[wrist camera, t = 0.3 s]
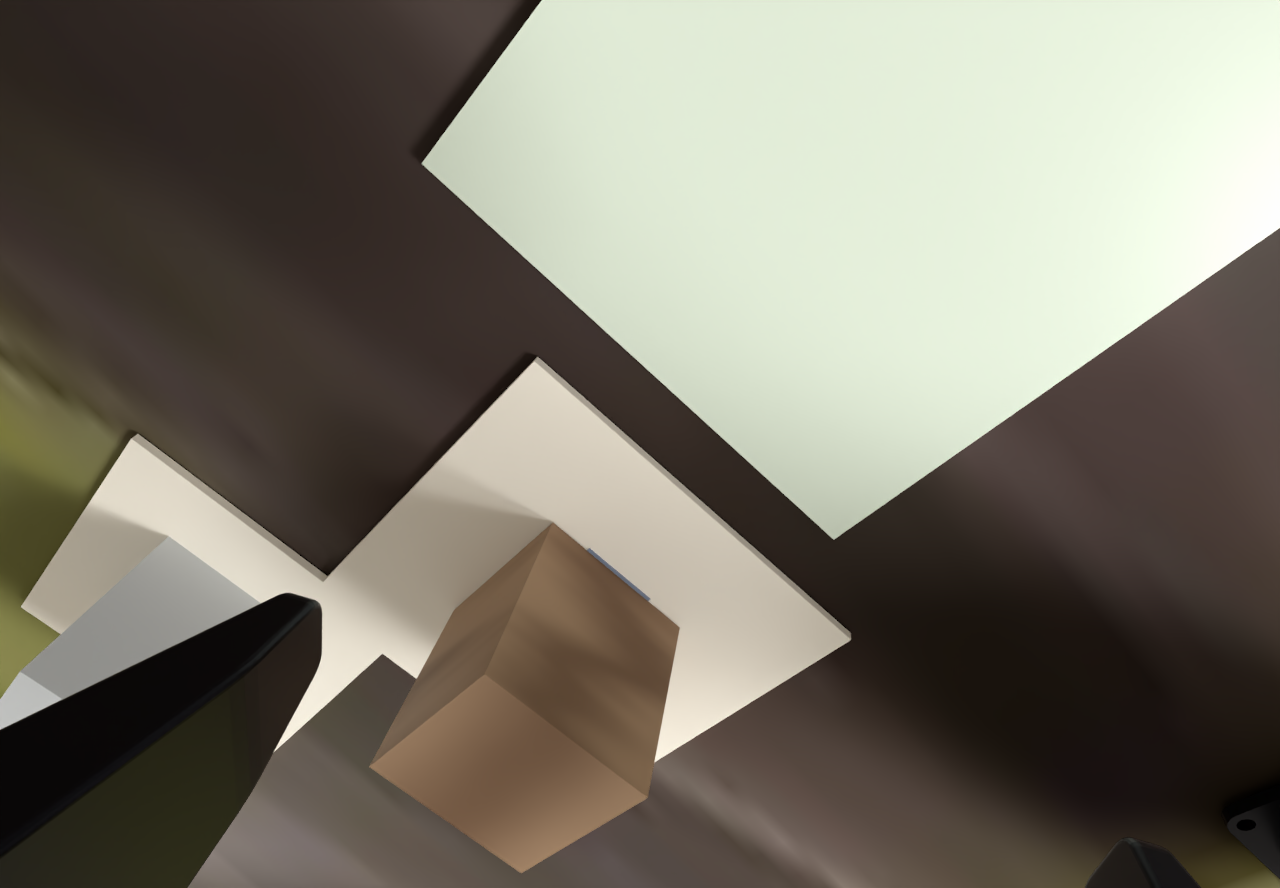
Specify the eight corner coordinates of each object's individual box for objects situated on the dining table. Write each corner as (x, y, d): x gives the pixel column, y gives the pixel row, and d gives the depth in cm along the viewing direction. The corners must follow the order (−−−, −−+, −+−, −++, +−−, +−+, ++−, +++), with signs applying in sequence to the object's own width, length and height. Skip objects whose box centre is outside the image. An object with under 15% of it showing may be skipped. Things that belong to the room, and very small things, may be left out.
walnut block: (679, 627, 25) (647, 797, 20) (574, 703, 28) (521, 872, 23) (552, 522, 24) (484, 673, 19) (453, 610, 27) (368, 766, 22)
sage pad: (1381, 144, 17) (1392, 148, 16) (833, 530, 23) (833, 539, 23) (910, -492, 14) (912, -504, 13) (428, 160, 20) (421, 163, 20)
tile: (402, 632, 28) (398, 638, 28) (261, 760, 33) (257, 767, 32) (137, 433, 26) (130, 438, 26) (27, 601, 30) (20, 607, 30)
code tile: (850, 632, 25) (851, 640, 25) (588, 797, 30) (586, 805, 30) (537, 356, 22) (533, 361, 22) (312, 592, 28) (306, 598, 28)
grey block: (298, 630, 28) (185, 779, 23) (231, 698, 31) (114, 848, 26) (168, 536, 27) (19, 671, 22) (109, 614, 30) (-39, 753, 24)
